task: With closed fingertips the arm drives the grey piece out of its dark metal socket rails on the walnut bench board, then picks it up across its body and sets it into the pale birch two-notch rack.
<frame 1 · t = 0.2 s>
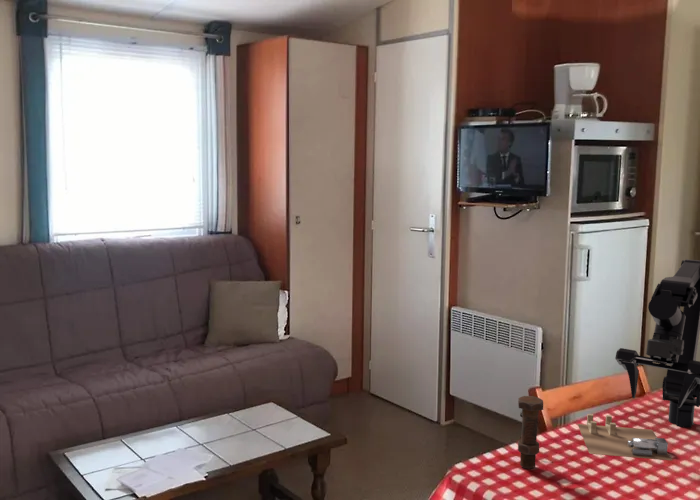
hand: (655, 402, 151), 14 cm above the table, tool tilted 30°, fingers open, 9 cm apart
socket: (639, 450, 159), resting on board
grey piece: (646, 451, 158), point 1 cm above the table, touching board
bolt: (527, 467, 151), on the table
rack: (600, 430, 170), resting on board
board: (621, 444, 164), on the table
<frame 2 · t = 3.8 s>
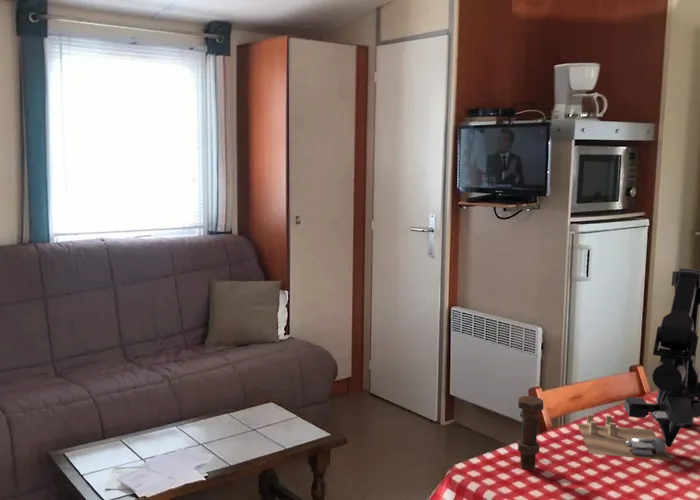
hand: (668, 446, 157), 2 cm above the table, tool pointing down, fingers closed
grey piece: (644, 451, 158), point 1 cm above the table, touching gripper
everything else where it was.
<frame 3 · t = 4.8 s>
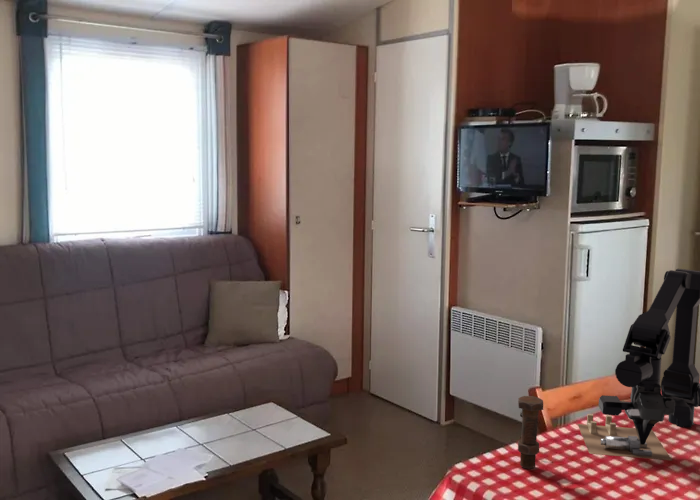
hand: (642, 443, 158), 2 cm above the table, tool pointing down, fingers closed
grey piece: (619, 449, 159), point 1 cm above the table, touching gripper
everything else where it was.
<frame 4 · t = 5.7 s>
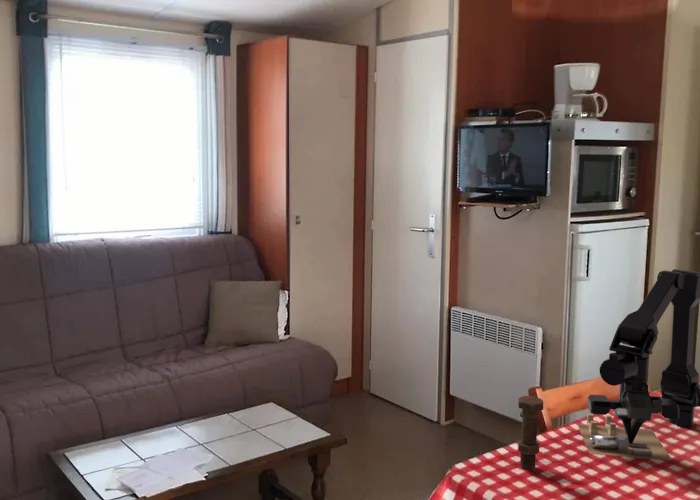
hand: (630, 442, 159), 2 cm above the table, tool pointing down, fingers closed
grey piece: (607, 448, 160), point 1 cm above the table, touching board, gripper
everything else where it was.
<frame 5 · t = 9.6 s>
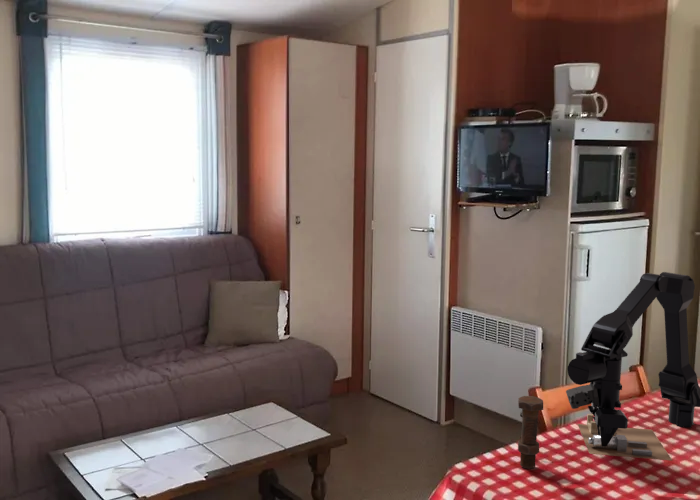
hand: (602, 443, 160), 2 cm above the table, tool pointing down, fingers closed on grey piece, 3 cm apart
grey piece: (606, 448, 160), point 1 cm above the table, touching board, gripper
everything else where it was.
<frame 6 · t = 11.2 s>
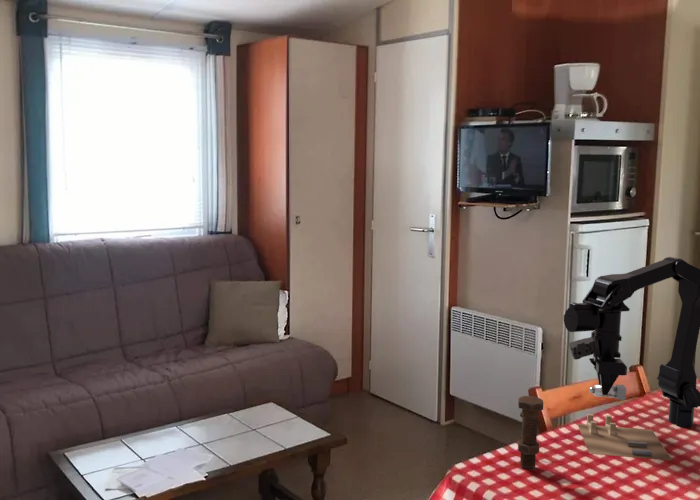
hand: (603, 392, 169), 10 cm above the table, tool pointing down, fingers closed on grey piece, 3 cm apart
grey piece: (607, 396, 169), point 9 cm above the table, touching gripper
everything else where it was.
when the fingers open (4 cm above the table, at t = 12.8 s): grey piece drops 1 cm, resting on rack.
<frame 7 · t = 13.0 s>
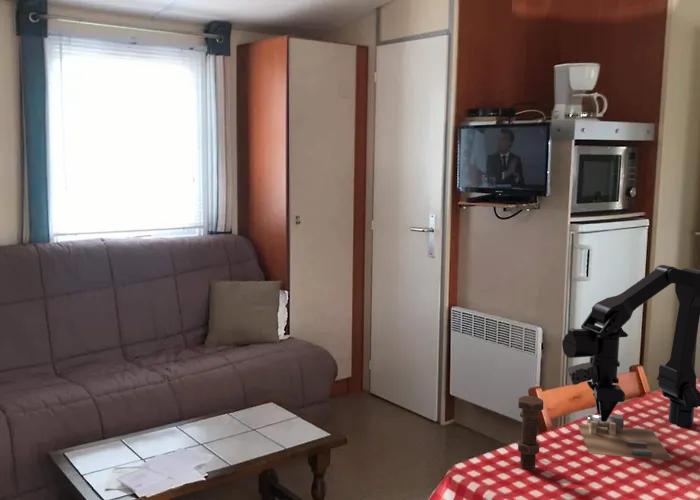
hand: (601, 417, 170), 4 cm above the table, tool pointing down, fingers open, 5 cm apart
grey piece: (604, 426, 170), point 2 cm above the table, touching rack
everything else where it was.
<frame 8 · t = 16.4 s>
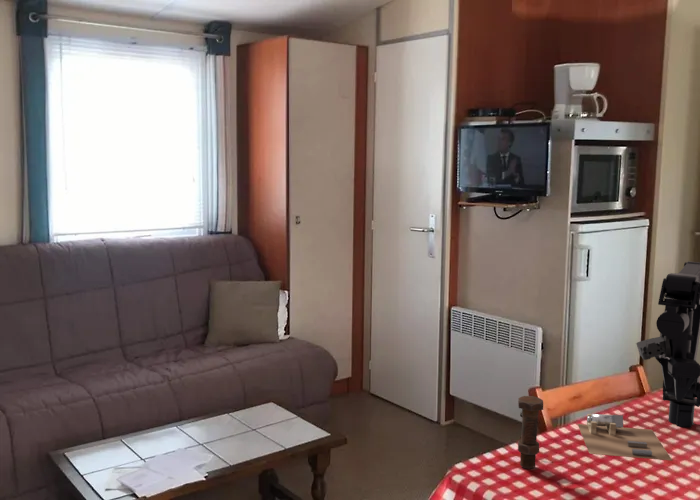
hand: (673, 394, 164), 12 cm above the table, tool pointing down, fingers open, 9 cm apart
grey piece: (604, 426, 170), point 2 cm above the table, tilted 24°, touching rack
everything else where it was.
at the end: grey piece 0.9 cm off-centre on the rack, point 1.0 cm above the rack's base; the gripper is holding nothing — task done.
